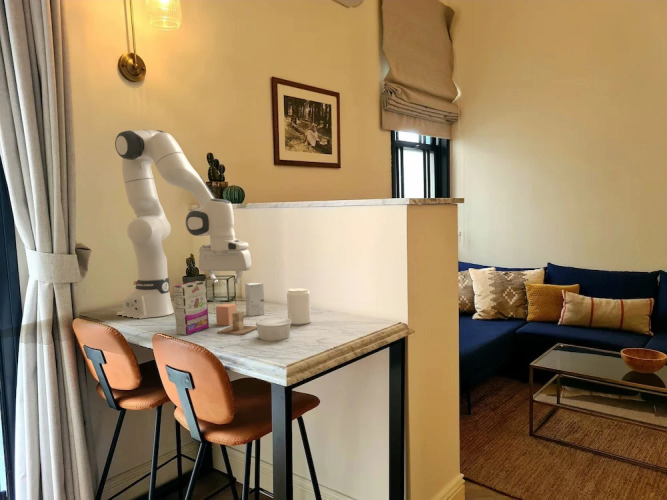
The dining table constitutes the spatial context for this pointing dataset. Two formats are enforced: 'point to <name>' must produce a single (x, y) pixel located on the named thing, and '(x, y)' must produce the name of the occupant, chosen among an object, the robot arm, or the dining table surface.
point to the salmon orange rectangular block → (225, 313)
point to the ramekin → (273, 328)
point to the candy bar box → (191, 307)
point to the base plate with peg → (238, 326)
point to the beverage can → (299, 306)
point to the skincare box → (254, 299)
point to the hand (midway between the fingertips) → (226, 283)
